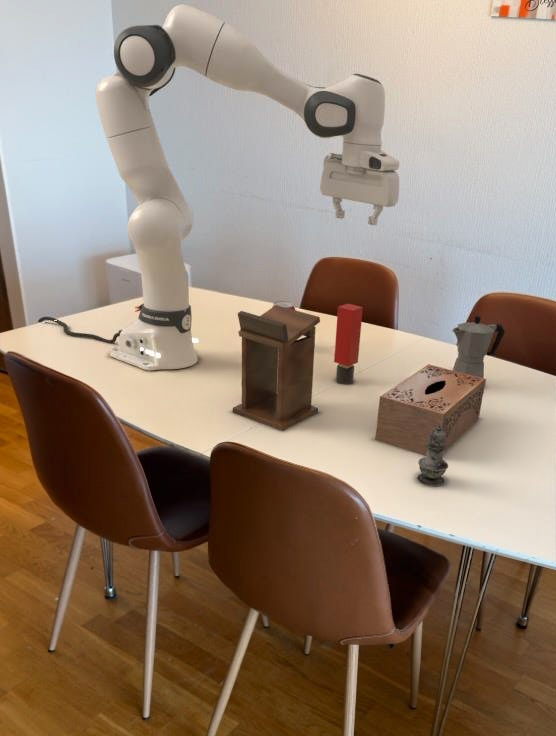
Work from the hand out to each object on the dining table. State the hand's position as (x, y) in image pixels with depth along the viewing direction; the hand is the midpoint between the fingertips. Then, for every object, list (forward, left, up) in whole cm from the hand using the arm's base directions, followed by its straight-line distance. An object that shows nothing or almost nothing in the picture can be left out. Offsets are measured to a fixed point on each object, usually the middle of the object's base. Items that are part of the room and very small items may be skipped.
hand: (356, 221), depth 171 cm
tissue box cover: (+32, -24, -37) cm, 55 cm away
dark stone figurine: (+40, -47, -37) cm, 72 cm away
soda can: (-22, +6, -37) cm, 44 cm away
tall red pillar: (+5, -4, -29) cm, 29 cm away
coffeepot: (+32, +10, -37) cm, 50 cm away
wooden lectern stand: (-1, -35, -37) cm, 51 cm away
